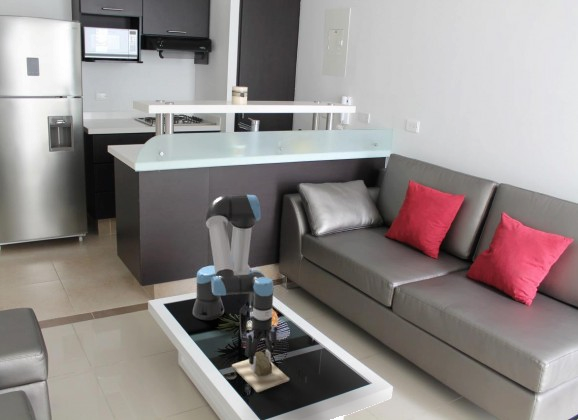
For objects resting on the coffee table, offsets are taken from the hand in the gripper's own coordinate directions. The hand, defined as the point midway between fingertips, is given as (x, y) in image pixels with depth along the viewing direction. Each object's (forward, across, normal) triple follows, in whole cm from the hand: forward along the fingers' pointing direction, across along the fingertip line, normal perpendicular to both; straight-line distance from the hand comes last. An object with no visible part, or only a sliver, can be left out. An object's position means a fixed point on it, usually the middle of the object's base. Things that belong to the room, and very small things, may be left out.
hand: (260, 367), depth 221 cm
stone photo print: (+3, 0, 0) cm, 3 cm away
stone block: (+1, 0, 0) cm, 1 cm away
